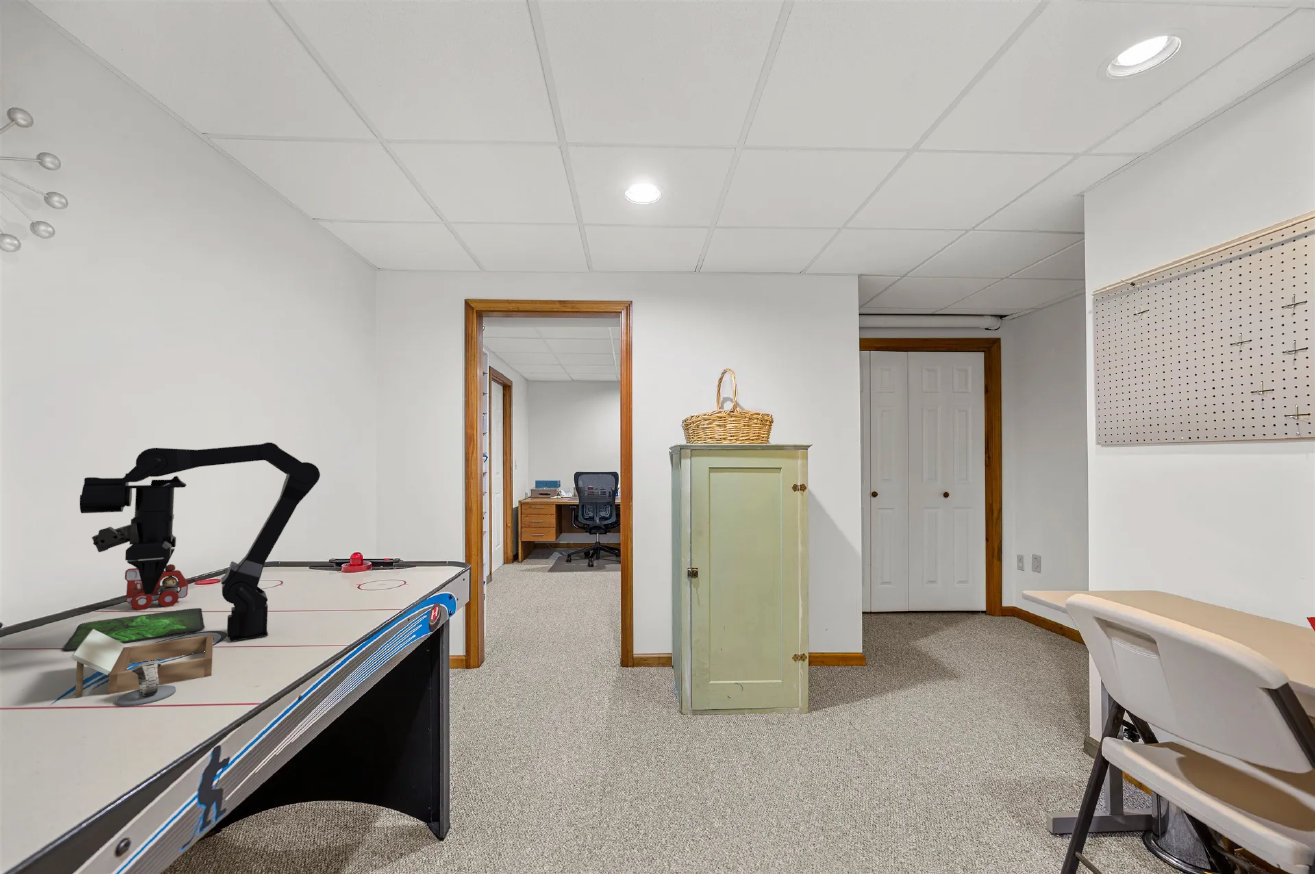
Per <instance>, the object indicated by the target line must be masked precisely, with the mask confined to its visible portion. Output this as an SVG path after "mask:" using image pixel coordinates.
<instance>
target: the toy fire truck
mask: <svg viewBox="0 0 1315 874" xmlns="http://www.w3.org/2000/svg"><path fill="white" fill-rule="evenodd" d="M124 579H125V580H126V595H125V602H126V604H129V605H130V606H131V608H132V609H133V610H135V611H143V610H146V609H148V608H150V606H151V605H152V604H153V602H158V604H159V605H160V606H162V607H163V608H164V607H165V608H168V607H173V606H175V605H176V604H177V603H178V602H179V599H184V598H186V597H187V596H188V594H189V593H188V591H189V583H188V581H187V579H186V577H185V576H184V574H183V573H182V571H180V570H179V569H176V565H175V564H174V563H173V564H171V563H169V564H167V566H166V568H165V570H164V572H163V574H162V576H161V578H160V580H159V582H158V584H157V585H156V587H155V589H154V591H153V593H152V594H147V595H145V594H144V590H143V586H142V582H141V578H140V575H139V571H138V569H137V568H136V567H132V568H131V567H130V568H127V569H126V570H125V571H124ZM161 585H162V588H161ZM176 585H177V586H176ZM158 590H160V592H159V591H158Z"/></svg>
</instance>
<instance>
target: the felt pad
mask: <svg viewBox="0 0 1315 874" xmlns="http://www.w3.org/2000/svg"><path fill="white" fill-rule="evenodd" d="M176 691H177V690H176V686H175V685H169V684H162V685H158V691H157V693H156V694H153V695H149V696H145V697H143V696H141V694H140V691H139V689H134V690H130V691H128V692H127V693H126V692H125V693H124V694H122V695H120V696H118V697H117V699H116V700H115V703H116V705H117V706H121V707H135V706H134V705H136V706H143V705H147V704H151V703H154V702H158V700H159V701H161V699H162V700H163V699H167V698H169V697H170V696H173V695H174V694H175V693H176ZM146 703H147V704H146Z"/></svg>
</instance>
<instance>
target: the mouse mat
mask: <svg viewBox="0 0 1315 874" xmlns="http://www.w3.org/2000/svg"><path fill="white" fill-rule="evenodd" d="M205 628H206V627H205V622H204V615H203V609H202V608H201V607H196V608H195V607H193V608H185V609H179V610H177V609H176V610H170V611H163V612H155V613H154V612H153V613H148V614H140V615H132V616H123V617H116V618H107V619H101V620H93V621H88V622H87V621H86V622H82V623H80V624H79V625H78V626H77V628H76V629H75V631H74V632H73V634H72V636H71V637H70V638H69V639H68V641H67V642H66V643H65V645H64V646H63V648H62V650H64V651H66V652H75V651H76V650H77V648H78V647H79V646H80V644H81V643H82V642H83V641H84V639H85V638H86V637H87V635H88V634H89V633H90V632H91V631H92V630H93V629H94V630H96V631H98V632H101V633H103V634H105V635H107V636H109V637H111V638H113V639H115V640H117V641H119V642H121V643H123V644H128V643H134V642H141V640H142V641H148V640H153V639H159V638H166V637H173V635H174V636H180V635H186V634H185V633H187V634H191V633H192V634H193V633H197V631H198V632H201V631H202V630H204V629H205Z"/></svg>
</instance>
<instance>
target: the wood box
mask: <svg viewBox="0 0 1315 874" xmlns="http://www.w3.org/2000/svg"><path fill="white" fill-rule="evenodd" d="M125 646H126V643H121V642H119V641H117V640H115V639H113V638H111V637H109V636H107V635H105V634H103V633H101V632H98V631H96V630H94V629H93V630H92V631H91V632H90V633H89V634H88V635H87V637H86V638H85V639H84V641H83V642H82V643H81V644H80V646H79V647H78V648H77V650H76V651H73V654H72V655H71V656H70V659H71V660H73V661H76V672H75V673H76V675H75V696H74V697H75V699H77V698H82V697H83V689H84V675H85V674H84V670H85V668H84V667H85V666H87V667H89V668H91V669H93V670H95V671H97V672H100V673H102V674H104V675H106V676H108V684H107V685H108V687H107V695H110V694H111V695H112V694H117V693H123V692H127V691H128V692H130V691H135V690H138V689H139V681H138V675H137V674H136V673H134V672H132V670H133V669H129V666H130V664H129V663H135V664H138V663H137V662H141V663H144V662H143V661H148V662H150V661H151V660H152V661H153V660H154V661H158V660H157V659H160V660H165V659H171V658H170V657H172V658H177V657H183V656H182V655H185V656H189V655H188V654H191V655H193V654H192V653H197V654H201V653H200V652H204V651H205V652H204V657H201V658H195V659H189V660H182V661H176V662H170V663H165V664H164V663H163V664H161V666H160V667H158V668H157V673H158V679H159V685H158V686H161V685H168V684H172V683H178V682H182V681H189V680H194V679H199V678H205V677H211V676H212V674H213V673H212V670H213V669H212V668H213V652H214V651H213V650H214V649H213V647H214V634H207V635H200V636H194V637H193V636H192V637H186V638H179V639H174V640H173V639H172V640H165V641H160V642H153V643H146V644H140V645H139V644H138V645H131V646H126V647H125ZM127 668H128V669H129V670H128V669H127Z"/></svg>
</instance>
